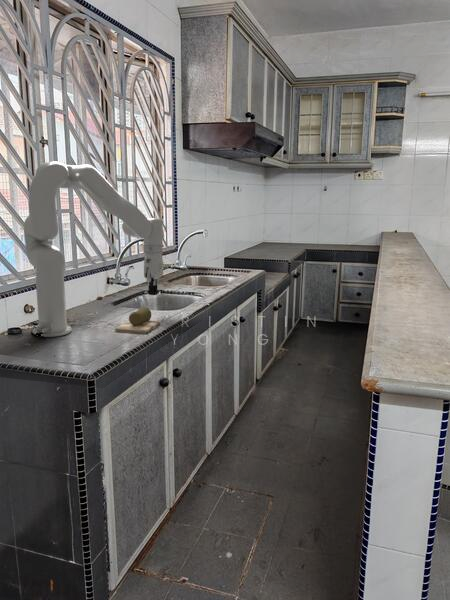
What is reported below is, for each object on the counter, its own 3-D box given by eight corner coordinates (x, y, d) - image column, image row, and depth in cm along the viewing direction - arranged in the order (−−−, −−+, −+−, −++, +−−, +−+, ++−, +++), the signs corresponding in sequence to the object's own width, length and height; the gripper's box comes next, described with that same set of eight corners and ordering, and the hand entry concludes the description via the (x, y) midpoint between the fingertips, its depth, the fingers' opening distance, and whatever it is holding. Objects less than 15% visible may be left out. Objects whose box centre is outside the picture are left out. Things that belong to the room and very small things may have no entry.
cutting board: (146, 334, 177) (146, 330, 176) (115, 331, 179) (115, 328, 179) (159, 324, 190) (159, 321, 190) (131, 322, 193) (131, 319, 192)
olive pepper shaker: (134, 310, 193) (123, 315, 182) (147, 304, 191) (137, 308, 181) (140, 324, 193) (130, 329, 182) (154, 318, 192) (144, 323, 181)
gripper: (155, 251, 187) (154, 298, 190) (168, 248, 201) (167, 292, 205) (136, 250, 188) (136, 297, 192) (151, 247, 203) (151, 290, 206)
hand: (152, 294), depth 198 cm, fingers closed
